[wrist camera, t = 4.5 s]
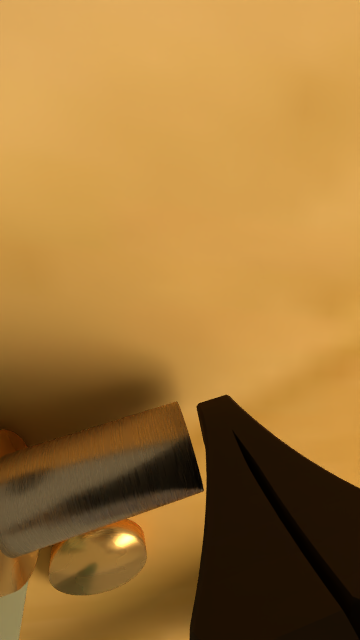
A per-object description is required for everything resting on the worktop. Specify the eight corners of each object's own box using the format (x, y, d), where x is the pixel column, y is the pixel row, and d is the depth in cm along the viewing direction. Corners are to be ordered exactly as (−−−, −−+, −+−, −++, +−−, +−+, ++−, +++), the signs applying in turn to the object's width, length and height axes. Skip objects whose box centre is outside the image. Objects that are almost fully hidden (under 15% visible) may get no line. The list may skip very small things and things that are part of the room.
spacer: (151, 548, 18) (155, 572, 17) (69, 579, 17) (68, 606, 16) (131, 499, 16) (134, 523, 15) (36, 532, 15) (32, 559, 14)
